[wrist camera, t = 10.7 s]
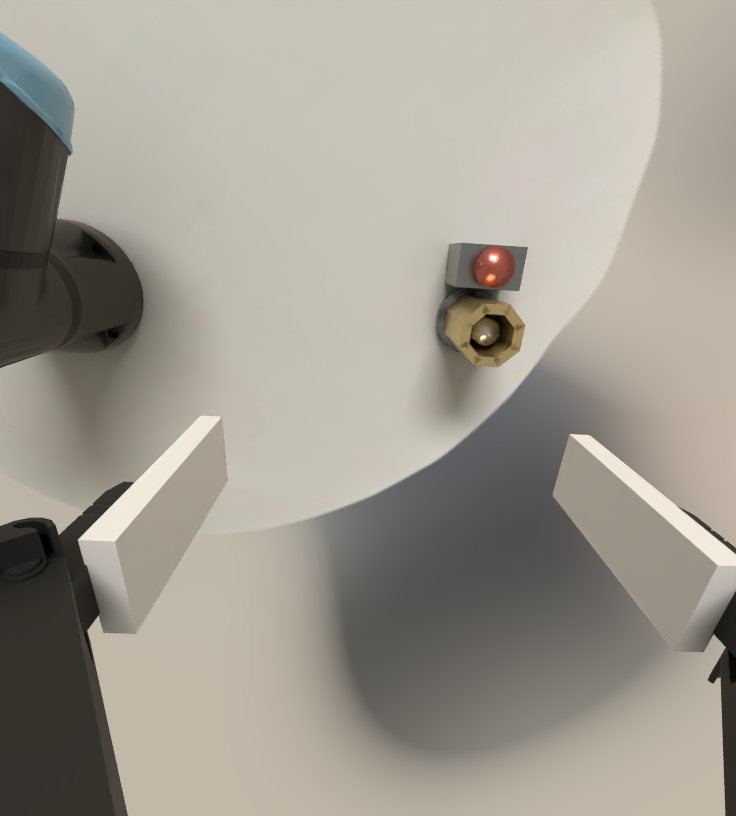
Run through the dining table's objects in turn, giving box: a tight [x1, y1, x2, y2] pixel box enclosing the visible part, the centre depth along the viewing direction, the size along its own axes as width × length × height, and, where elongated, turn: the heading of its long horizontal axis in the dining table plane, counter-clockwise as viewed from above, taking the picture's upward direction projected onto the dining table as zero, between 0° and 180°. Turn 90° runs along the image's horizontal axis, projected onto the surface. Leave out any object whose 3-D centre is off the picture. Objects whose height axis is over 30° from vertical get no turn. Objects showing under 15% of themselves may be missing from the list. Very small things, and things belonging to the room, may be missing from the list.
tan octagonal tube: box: [443, 294, 525, 367], centre depth 44 cm, size 6×6×9 cm
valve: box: [436, 243, 528, 352], centre depth 44 cm, size 8×13×8 cm, turn 177°
